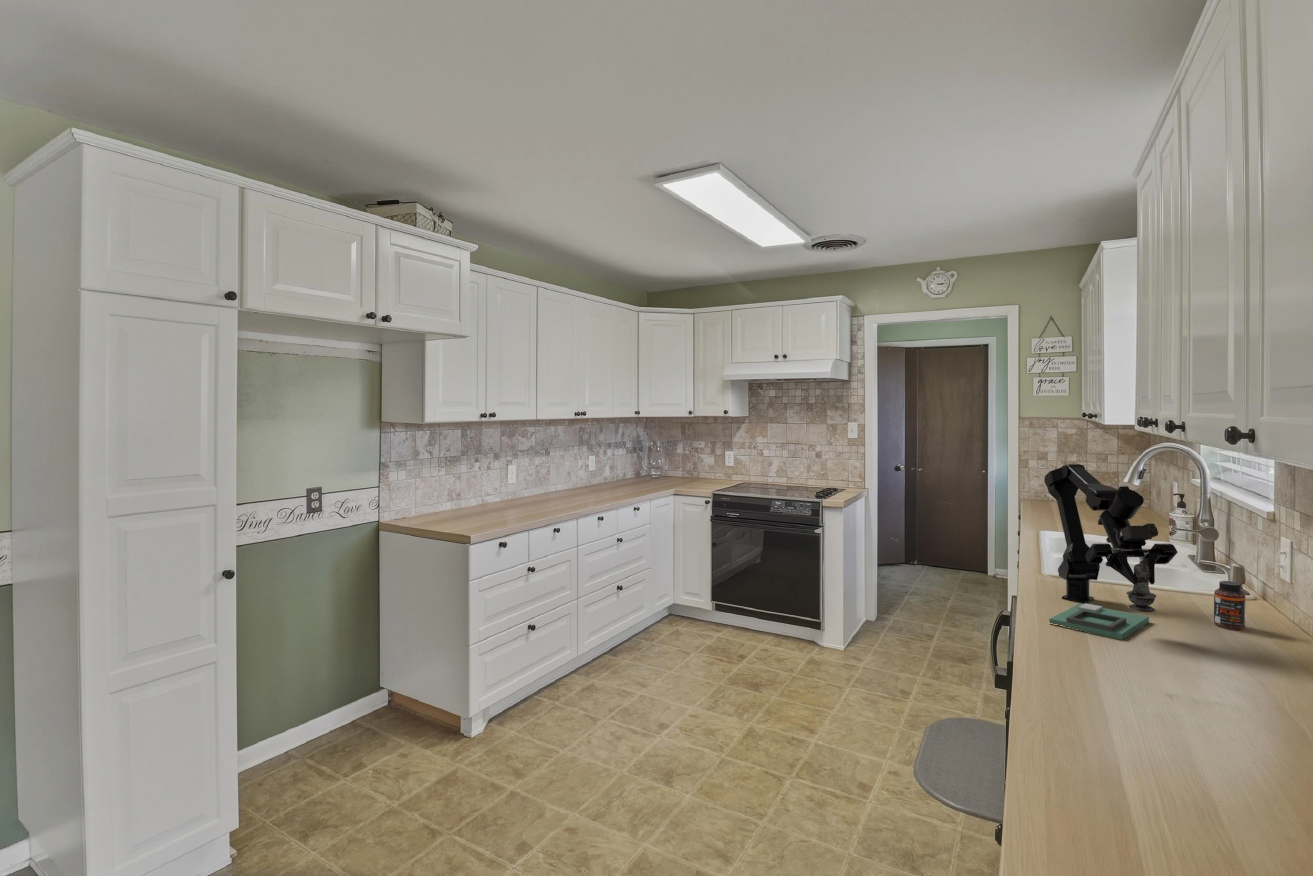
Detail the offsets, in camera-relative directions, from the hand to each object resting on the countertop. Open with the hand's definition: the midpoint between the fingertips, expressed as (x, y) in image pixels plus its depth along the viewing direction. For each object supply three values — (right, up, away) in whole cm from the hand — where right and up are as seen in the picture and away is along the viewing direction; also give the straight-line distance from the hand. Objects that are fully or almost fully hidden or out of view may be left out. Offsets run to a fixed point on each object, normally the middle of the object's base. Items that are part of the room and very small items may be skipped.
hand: (1144, 583), depth 157 cm
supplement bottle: (+26, -13, +6) cm, 29 cm away
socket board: (-3, -13, +11) cm, 17 cm away
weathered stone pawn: (+1, -7, +2) cm, 7 cm away
